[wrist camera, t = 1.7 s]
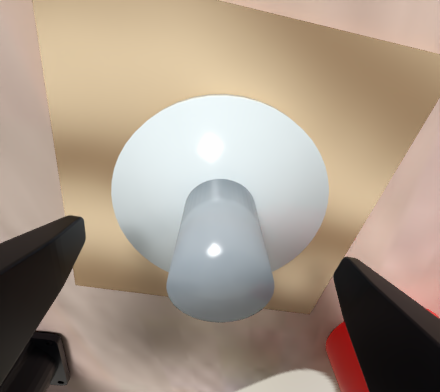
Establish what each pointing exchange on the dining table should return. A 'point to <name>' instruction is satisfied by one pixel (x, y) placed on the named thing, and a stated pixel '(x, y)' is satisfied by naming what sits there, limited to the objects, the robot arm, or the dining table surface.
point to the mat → (224, 84)
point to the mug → (346, 360)
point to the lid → (220, 200)
